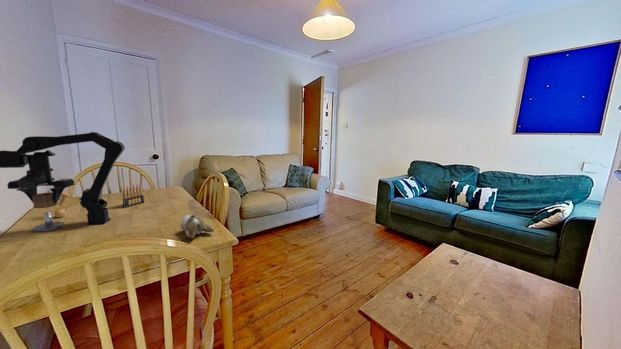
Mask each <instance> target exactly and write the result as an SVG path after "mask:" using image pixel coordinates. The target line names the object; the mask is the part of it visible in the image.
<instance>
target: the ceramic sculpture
mask: <svg viewBox="0 0 621 349" xmlns="http://www.w3.org/2000/svg"><path fill="white" fill-rule="evenodd" d="M180 229H181V230H182V231H184V233H185V235H186V237H187V238H188V239H194V238H195V237H196V236H197V235H196V234H198V235H200V233H201V234H202V233H203V232H204V231H205V232H204V233H206V232H209V233H213V232H215V229H213V228H212V226H211V225H209V223H208V224H207V223H205V222H204V220H203V219H201V218H200V217H198V216H197V215H195V214H193V215H190V214H188V213H186V214H185V215H184V216H183V218H182V220H181V222H180Z"/></svg>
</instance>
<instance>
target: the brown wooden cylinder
mask: <svg viewBox="0 0 621 349" xmlns="http://www.w3.org/2000/svg"><path fill="white" fill-rule="evenodd" d="M32 199H33V202H32V205H33V208H34V209H46V208H53V207H55V206H57V205H58V202H57V203H54V201H53V193H52V191H51V192H42V193H41V192H40V193H37V194H35V195H32Z"/></svg>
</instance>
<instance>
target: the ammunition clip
mask: <svg viewBox="0 0 621 349" xmlns="http://www.w3.org/2000/svg"><path fill="white" fill-rule="evenodd" d="M122 197H123V198H122V203H123V204H122V206H123V207H122V208H125V209H126V208H130V206H131V207H133V206H134V205H135V206H138V205H141V203H142V204H144V203H145V197H144V194H143V187H142V184H141V183H139V184H138V183H136V185H135V184H133V185H130V186H128V185H126V187H125V186H123V187H122ZM137 204H138V205H137Z"/></svg>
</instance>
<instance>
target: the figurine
mask: <svg viewBox="0 0 621 349" xmlns="http://www.w3.org/2000/svg"><path fill="white" fill-rule="evenodd" d="M60 198H61V199H60V201H58V202H57V205H59V206H60V207H58V208H57V209H56V210H55V211H54V212H53V214H54V216H55V217H57V218H63V217H65V216H66V214H67V211H66V210H65V209H64V208H65V203H66V204H69V201H70V196H69V193H68V192H64V191H63V192H62V193H61V196H60Z"/></svg>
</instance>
